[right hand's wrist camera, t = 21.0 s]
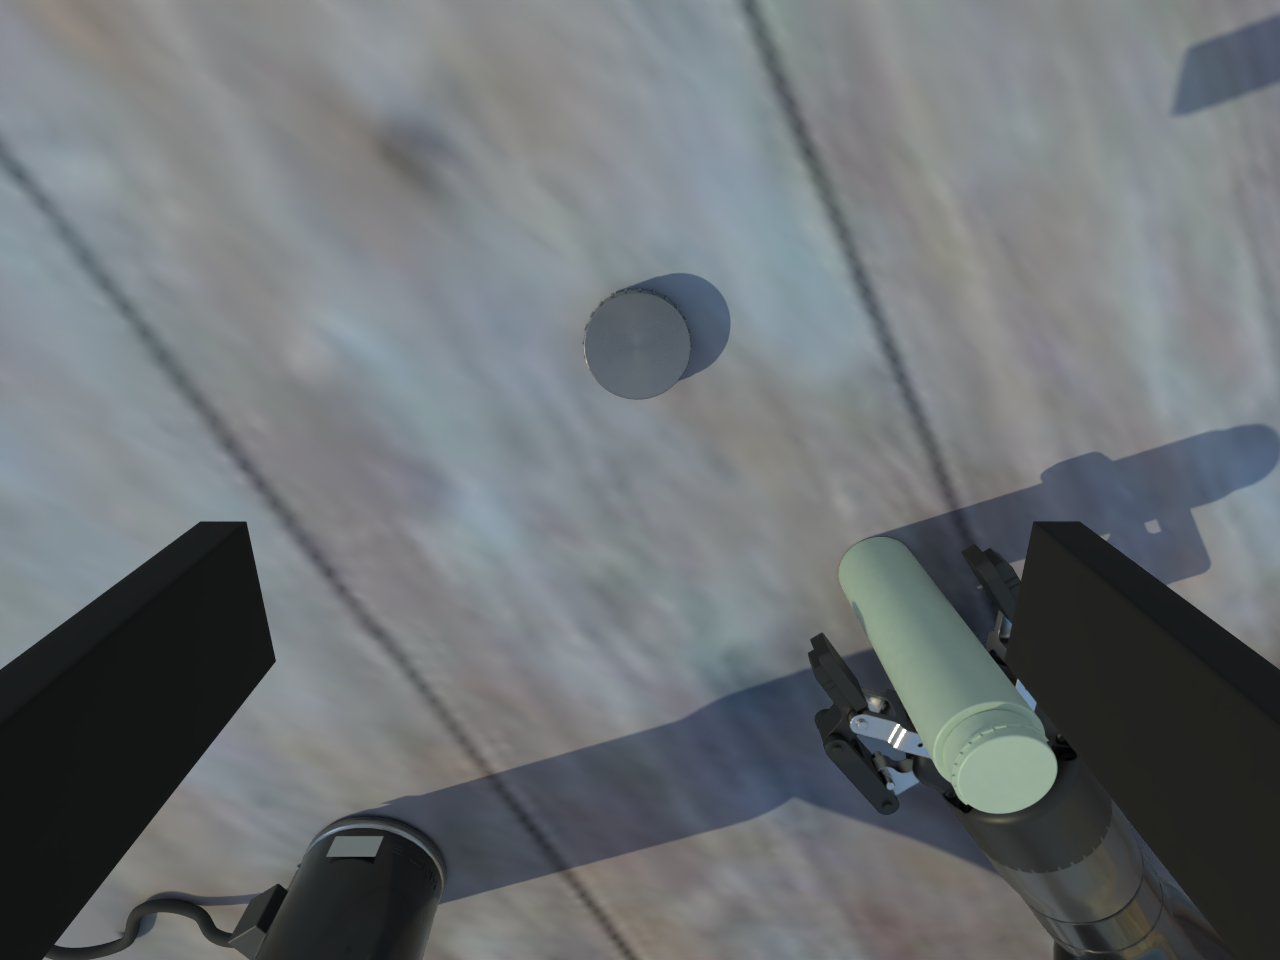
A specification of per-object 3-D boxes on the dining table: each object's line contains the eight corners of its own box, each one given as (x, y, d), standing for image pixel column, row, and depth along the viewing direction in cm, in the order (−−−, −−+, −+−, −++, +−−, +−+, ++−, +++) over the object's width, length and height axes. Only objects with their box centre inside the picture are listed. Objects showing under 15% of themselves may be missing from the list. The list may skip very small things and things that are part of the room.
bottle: (884, 521, 41) (1026, 707, 26) (928, 571, 42) (1090, 778, 27) (822, 568, 42) (925, 773, 27) (868, 616, 43) (990, 839, 28)
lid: (590, 396, 38) (588, 405, 37) (579, 292, 36) (576, 296, 35) (692, 388, 38) (695, 396, 36) (686, 282, 36) (688, 286, 35)
